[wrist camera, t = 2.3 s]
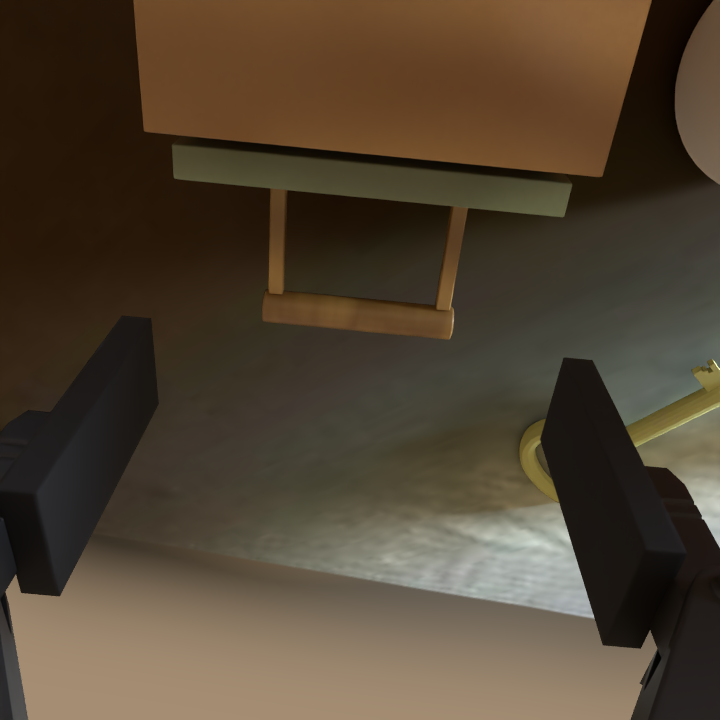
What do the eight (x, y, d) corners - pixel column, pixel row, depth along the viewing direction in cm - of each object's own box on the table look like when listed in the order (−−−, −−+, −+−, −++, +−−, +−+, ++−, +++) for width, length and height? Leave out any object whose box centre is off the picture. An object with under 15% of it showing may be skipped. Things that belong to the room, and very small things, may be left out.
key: (738, 365, 35) (756, 388, 34) (588, 510, 41) (597, 535, 40) (632, 305, 34) (645, 325, 32) (492, 464, 40) (496, 488, 38)
